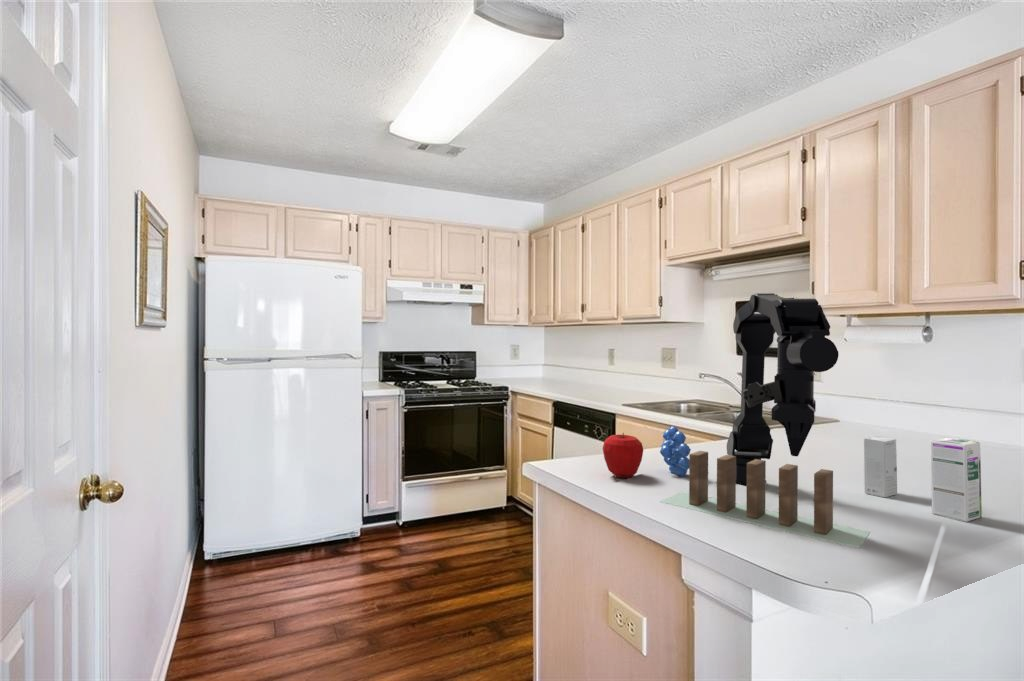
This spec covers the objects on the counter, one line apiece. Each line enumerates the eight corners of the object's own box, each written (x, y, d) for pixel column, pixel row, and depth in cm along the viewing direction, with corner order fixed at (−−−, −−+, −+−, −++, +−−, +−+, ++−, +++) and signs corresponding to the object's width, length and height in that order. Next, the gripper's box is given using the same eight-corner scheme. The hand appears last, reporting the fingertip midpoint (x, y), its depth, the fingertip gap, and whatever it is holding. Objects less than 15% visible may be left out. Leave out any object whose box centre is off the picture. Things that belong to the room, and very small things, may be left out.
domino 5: (813, 532, 88) (814, 473, 88) (821, 525, 91) (821, 468, 91) (826, 535, 87) (826, 475, 87) (832, 528, 90) (833, 470, 90)
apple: (595, 473, 129) (595, 430, 129) (626, 470, 133) (627, 428, 133) (618, 483, 120) (618, 437, 120) (651, 479, 124) (651, 434, 124)
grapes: (648, 470, 133) (649, 423, 133) (672, 469, 135) (673, 423, 135) (671, 482, 122) (671, 431, 122) (697, 480, 123) (697, 430, 123)
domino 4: (778, 524, 92) (778, 468, 92) (786, 518, 95) (786, 463, 95) (789, 527, 90) (789, 470, 90) (797, 520, 94) (797, 465, 94)
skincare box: (886, 498, 110) (886, 441, 110) (862, 493, 114) (862, 438, 114) (898, 493, 114) (898, 438, 114) (875, 489, 117) (875, 435, 117)
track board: (681, 494, 112) (681, 491, 112) (870, 535, 88) (870, 531, 88) (659, 504, 105) (659, 501, 105) (858, 552, 81) (858, 548, 81)
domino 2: (716, 510, 99) (716, 458, 99) (726, 505, 103) (726, 454, 103) (726, 512, 98) (726, 460, 98) (735, 507, 101) (735, 456, 102)
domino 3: (746, 517, 95) (746, 463, 95) (755, 511, 99) (755, 459, 99) (756, 519, 94) (756, 464, 94) (765, 513, 98) (765, 460, 98)
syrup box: (967, 522, 95) (968, 444, 95) (930, 513, 100) (930, 438, 100) (982, 518, 98) (982, 441, 98) (944, 509, 103) (944, 436, 103)
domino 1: (689, 504, 103) (689, 454, 103) (699, 499, 106) (699, 450, 107) (698, 506, 102) (698, 455, 102) (708, 501, 105) (708, 451, 105)
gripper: (752, 365, 104) (751, 442, 105) (739, 369, 88) (738, 460, 89) (815, 366, 99) (815, 448, 99) (814, 372, 83) (813, 469, 83)
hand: (794, 455), depth 92 cm, fingers closed
